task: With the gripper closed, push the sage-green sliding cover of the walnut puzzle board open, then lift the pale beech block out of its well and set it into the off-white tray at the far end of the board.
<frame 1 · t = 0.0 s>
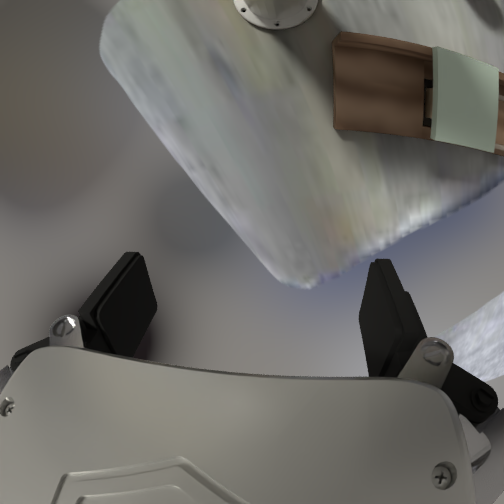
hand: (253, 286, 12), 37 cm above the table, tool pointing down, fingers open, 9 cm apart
sliding cover: (467, 100, 27), point 9 cm above the table, slide at 0.0 cm
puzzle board: (433, 103, 36), on the table
beech block: (437, 104, 35), resting in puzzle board
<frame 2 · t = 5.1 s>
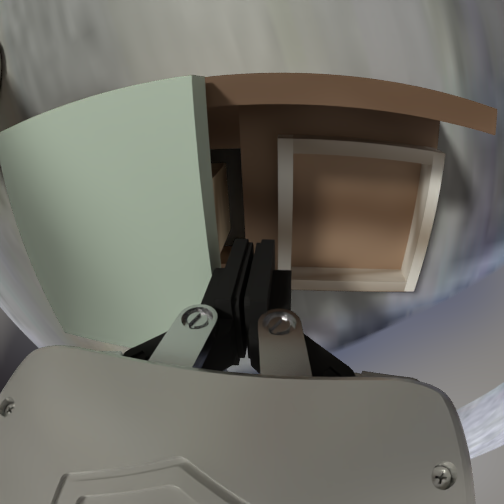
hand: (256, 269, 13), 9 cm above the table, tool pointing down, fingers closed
sliding cover: (102, 241, 12), point 9 cm above the table, slide at 1.6 cm, touching gripper
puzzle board: (182, 197, 21), on the table
beech block: (195, 197, 21), resting in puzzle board
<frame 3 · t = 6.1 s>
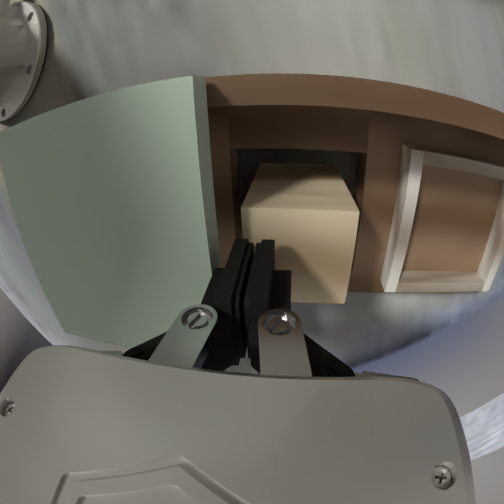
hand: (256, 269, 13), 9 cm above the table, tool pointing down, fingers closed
sliding cover: (102, 241, 12), point 9 cm above the table, slide at 8.9 cm, touching gripper
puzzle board: (283, 198, 20), on the table
beech block: (297, 198, 20), resting in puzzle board
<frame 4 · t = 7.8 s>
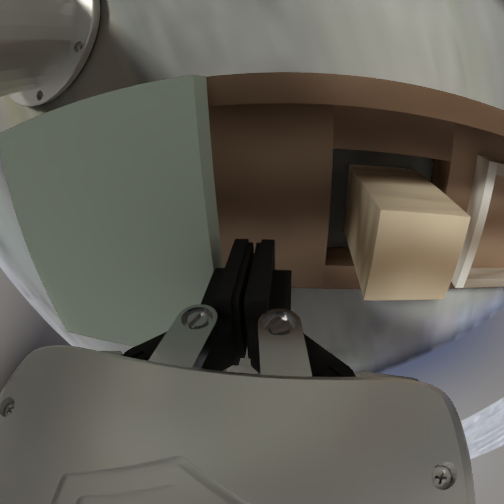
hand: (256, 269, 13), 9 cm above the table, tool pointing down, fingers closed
sliding cover: (104, 240, 13), point 9 cm above the table, slide at 14.9 cm
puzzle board: (366, 199, 19), on the table
beech block: (379, 199, 19), resting in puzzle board
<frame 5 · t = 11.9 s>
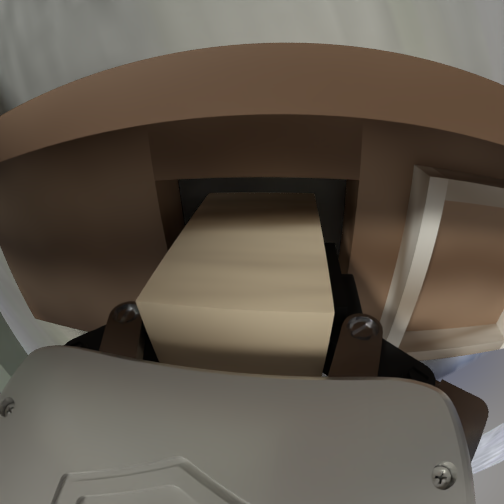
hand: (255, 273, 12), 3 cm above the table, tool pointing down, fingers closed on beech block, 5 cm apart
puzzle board: (242, 238, 15), on the table
beech block: (262, 239, 15), resting in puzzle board, touching gripper
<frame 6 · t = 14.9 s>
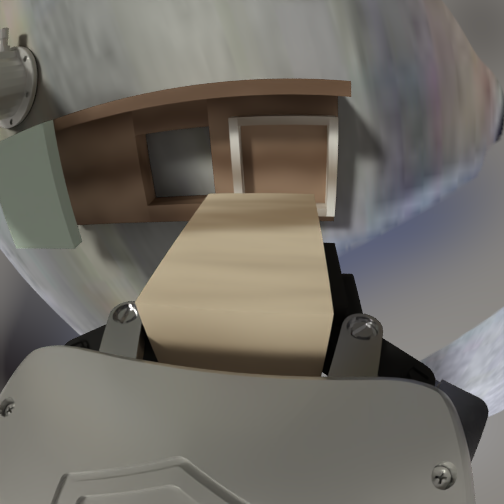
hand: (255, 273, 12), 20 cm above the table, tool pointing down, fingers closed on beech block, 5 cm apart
sliding cover: (28, 191, 24), point 9 cm above the table, slide at 15.0 cm
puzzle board: (174, 162, 31), on the table
beech block: (262, 239, 15), point 17 cm above the table, touching gripper
when the fingers open (6 cm above the table, at t = 17.9 s): beech block stays where it is, resting on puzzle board.
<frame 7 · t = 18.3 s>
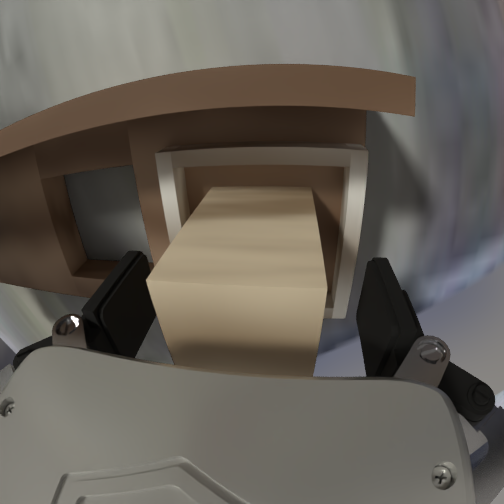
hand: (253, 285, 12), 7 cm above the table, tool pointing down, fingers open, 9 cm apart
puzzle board: (102, 214, 19), on the table
beech block: (262, 230, 16), point 2 cm above the table, touching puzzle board
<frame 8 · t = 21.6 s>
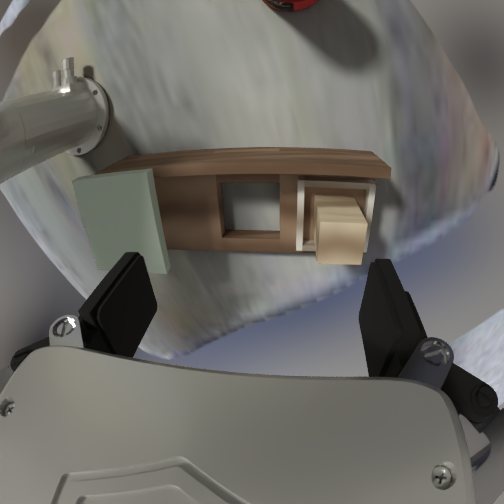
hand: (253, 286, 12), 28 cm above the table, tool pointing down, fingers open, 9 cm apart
sliding cover: (120, 224, 34), point 9 cm above the table, slide at 15.0 cm
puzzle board: (244, 204, 40), on the table
beech block: (333, 213, 37), point 2 cm above the table, touching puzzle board
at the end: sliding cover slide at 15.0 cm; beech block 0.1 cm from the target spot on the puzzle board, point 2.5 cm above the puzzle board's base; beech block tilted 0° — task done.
